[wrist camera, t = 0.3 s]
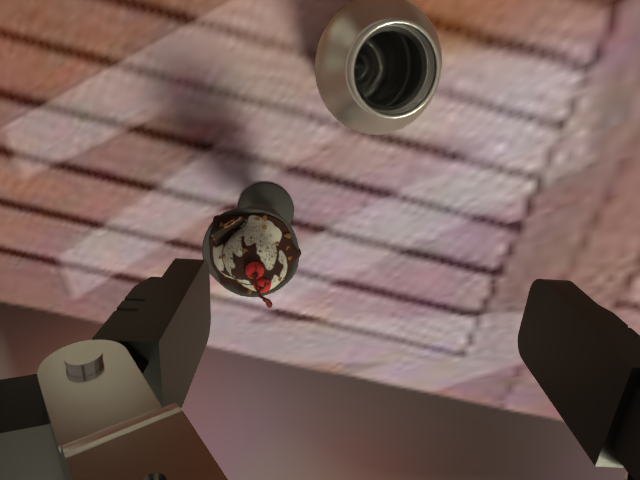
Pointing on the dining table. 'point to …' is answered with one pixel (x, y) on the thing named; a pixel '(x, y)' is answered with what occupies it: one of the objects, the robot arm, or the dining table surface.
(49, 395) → the robot arm
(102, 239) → the dining table surface
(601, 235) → the dining table surface
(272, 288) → the sundae
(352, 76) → the plastic bottle
